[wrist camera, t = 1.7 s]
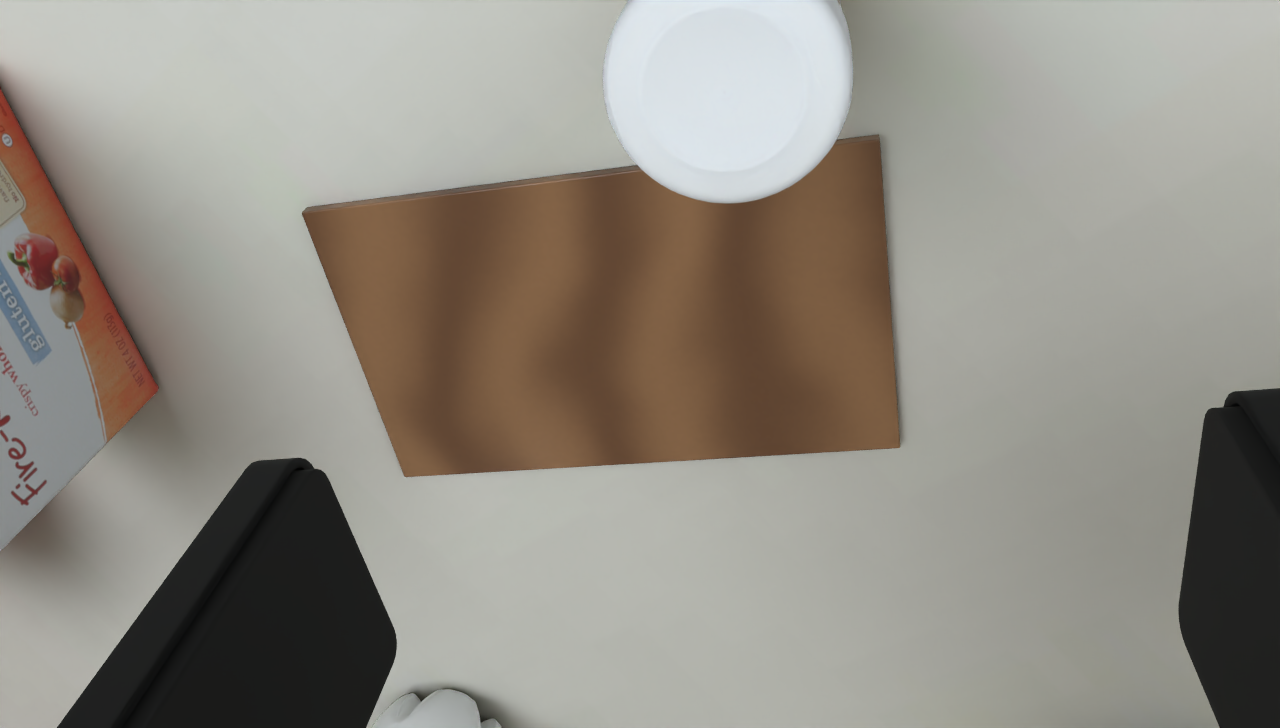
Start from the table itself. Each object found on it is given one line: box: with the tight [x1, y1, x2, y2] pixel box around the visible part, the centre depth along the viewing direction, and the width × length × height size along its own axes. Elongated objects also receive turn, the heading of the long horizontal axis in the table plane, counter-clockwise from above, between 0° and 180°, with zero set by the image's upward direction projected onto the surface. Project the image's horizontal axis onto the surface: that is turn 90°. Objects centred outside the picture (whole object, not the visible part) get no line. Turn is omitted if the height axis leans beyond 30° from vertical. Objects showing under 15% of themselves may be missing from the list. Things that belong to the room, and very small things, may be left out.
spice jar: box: [603, 0, 853, 204], centre depth 23 cm, size 5×5×13 cm
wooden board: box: [302, 135, 900, 477], centre depth 36 cm, size 20×12×1 cm, turn 101°
